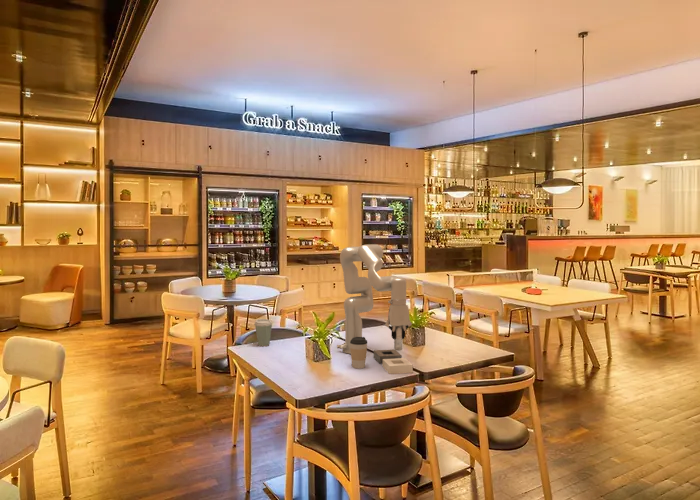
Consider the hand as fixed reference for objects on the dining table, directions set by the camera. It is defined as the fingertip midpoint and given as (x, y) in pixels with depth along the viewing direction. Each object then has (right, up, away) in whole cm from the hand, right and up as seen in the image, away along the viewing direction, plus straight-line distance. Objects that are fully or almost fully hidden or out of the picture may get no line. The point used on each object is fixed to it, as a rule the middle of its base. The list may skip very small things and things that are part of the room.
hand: (398, 338), depth 245 cm
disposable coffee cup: (-76, -13, +46) cm, 89 cm away
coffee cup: (-20, -16, +6) cm, 26 cm away
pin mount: (-4, -15, +18) cm, 24 cm away
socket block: (0, -16, +1) cm, 16 cm away
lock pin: (0, -6, 0) cm, 6 cm away
